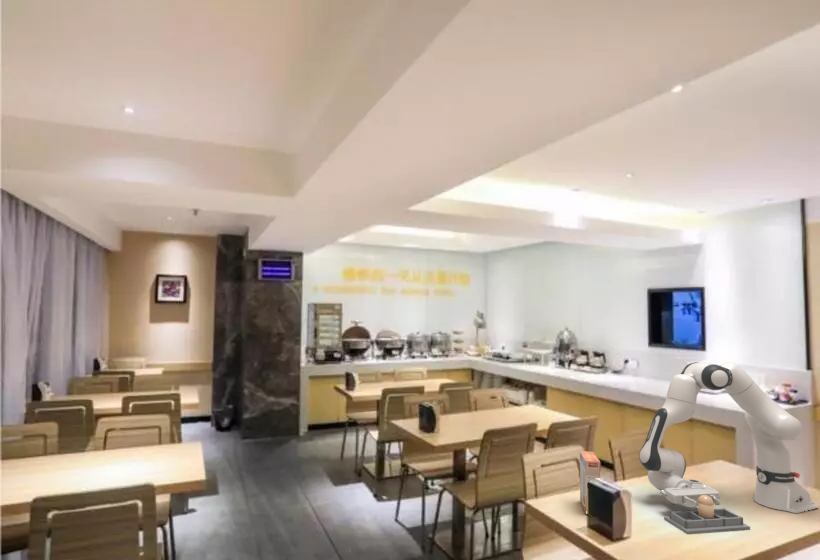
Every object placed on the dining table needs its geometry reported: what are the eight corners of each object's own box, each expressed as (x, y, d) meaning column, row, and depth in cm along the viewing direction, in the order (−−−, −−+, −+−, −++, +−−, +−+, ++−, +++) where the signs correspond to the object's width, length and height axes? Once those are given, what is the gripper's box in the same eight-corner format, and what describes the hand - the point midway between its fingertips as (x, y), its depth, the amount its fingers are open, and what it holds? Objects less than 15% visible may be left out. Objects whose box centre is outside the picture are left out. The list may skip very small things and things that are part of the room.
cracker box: (601, 516, 182) (601, 461, 184) (585, 515, 184) (584, 460, 185) (595, 502, 196) (594, 451, 198) (579, 501, 197) (579, 450, 199)
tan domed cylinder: (706, 517, 180) (706, 492, 180) (717, 524, 175) (717, 497, 175) (694, 518, 179) (694, 493, 180) (705, 525, 174) (704, 499, 174)
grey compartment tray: (723, 515, 185) (723, 506, 185) (750, 529, 173) (749, 519, 174) (664, 519, 181) (663, 510, 181) (687, 534, 169) (687, 524, 169)
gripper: (657, 482, 189) (682, 496, 175) (702, 480, 192) (730, 493, 179) (657, 499, 188) (682, 513, 175) (702, 496, 192) (731, 510, 178)
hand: (707, 503), depth 177 cm, fingers open, 8 cm apart
